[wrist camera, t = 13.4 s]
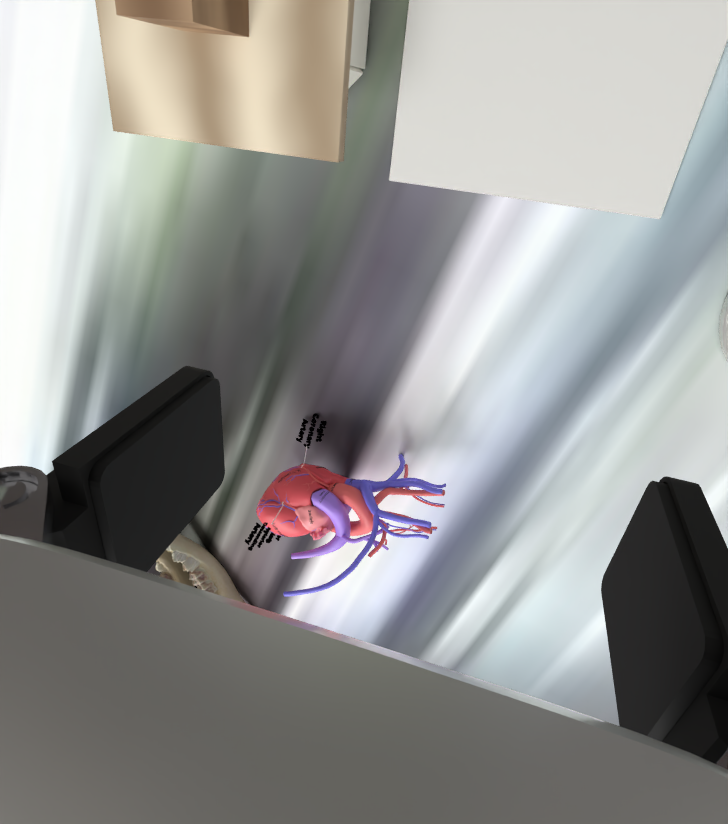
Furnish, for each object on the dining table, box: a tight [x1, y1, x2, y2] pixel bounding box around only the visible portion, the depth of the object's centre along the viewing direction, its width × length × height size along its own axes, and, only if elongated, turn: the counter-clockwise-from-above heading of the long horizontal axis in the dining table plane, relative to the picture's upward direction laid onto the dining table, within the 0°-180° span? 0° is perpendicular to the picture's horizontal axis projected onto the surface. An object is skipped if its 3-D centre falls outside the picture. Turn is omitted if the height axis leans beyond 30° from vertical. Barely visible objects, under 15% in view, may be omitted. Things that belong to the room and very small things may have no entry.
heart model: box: [245, 414, 446, 596], centre depth 45 cm, size 15×9×18 cm
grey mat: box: [389, 0, 728, 219], centre depth 30 cm, size 18×18×1 cm
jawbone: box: [156, 534, 245, 603], centre depth 59 cm, size 25×10×14 cm, turn 19°
